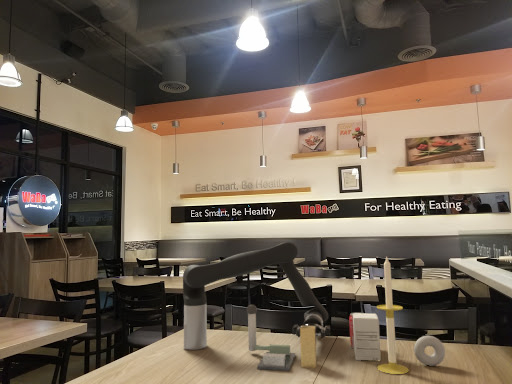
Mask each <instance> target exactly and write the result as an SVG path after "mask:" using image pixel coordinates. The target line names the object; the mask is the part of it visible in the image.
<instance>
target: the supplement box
mask: <svg viewBox="0 0 512 384" xmlns="http://www.w3.org/2000/svg"><path fill="white" fill-rule="evenodd" d="M352 313H353V334H354V348H353V349H354V358H355V359H354V360H355V361H361V360H377V361H376V362H379V361H378V360H381V359H382V357H381V342H380V341H381V339H380V336H381V335H380V321H379V317H378V315H377V313H364V312H352ZM381 361H382V360H381Z"/></svg>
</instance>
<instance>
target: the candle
mask: <svg viewBox="0 0 512 384" xmlns="http://www.w3.org/2000/svg"><path fill="white" fill-rule="evenodd" d="M383 271H384V272H383V273H384V290H385V291H384V292H385V304H379V305H376V307H375V308H377V309H378V310H380V311H381V310H382V311H385V320H386V339H387V357H388V363H381V364H379V365H377V366H376V369H377V368H378V369H377V370H378V371H379V370H380V371H382V372H381V373H383V372H385V373H390V374H389V375H391V374H403V375H405V374H404V373H407V372H408V371H409V372H410V370H409V369H408V367H406V366H403V365H401V364H397V349H396V332H395V331H396V330H395V315H394V314H395V313H394V311H402V310H403V309H404V308H403V306H401V305H397V304H393V286H392V285H393V284H392V270H391V262H390V261H389V258H388V257H385V261H384V263H383ZM380 371H379V372H380ZM409 372H408V373H409ZM385 373H384V374H385ZM408 373H407V374H408Z"/></svg>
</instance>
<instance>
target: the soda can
mask: <svg viewBox="0 0 512 384" xmlns="http://www.w3.org/2000/svg"><path fill="white" fill-rule="evenodd" d="M353 313H354V312H351V313H350V314H349V317H348V321H349V322H348V323H349V338H350V339H349V341H350V342H349V343H350V346H351V348H352V349H354V334H353Z"/></svg>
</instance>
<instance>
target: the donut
mask: <svg viewBox="0 0 512 384" xmlns="http://www.w3.org/2000/svg"><path fill="white" fill-rule="evenodd" d="M428 347H432V348H433V350H434V352H433V353H432V354H431V355H429V354H426V352H425V349H426V348H428ZM413 352H414V356H415V357H416V360H418V362H420V363H421V364H423V365H424V366H427V365H429V366H428V367H434V366H437V365H440V364H441V363H442V362H443V361H444V359H445V356H446V349H445V346H444V344H443V342H442V341H441V340H440V339H439V338H437V337H435V336H433V335H422V336H421V337H419V338H418V339H417V340H416V342H415V344H414V345H413Z"/></svg>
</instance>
